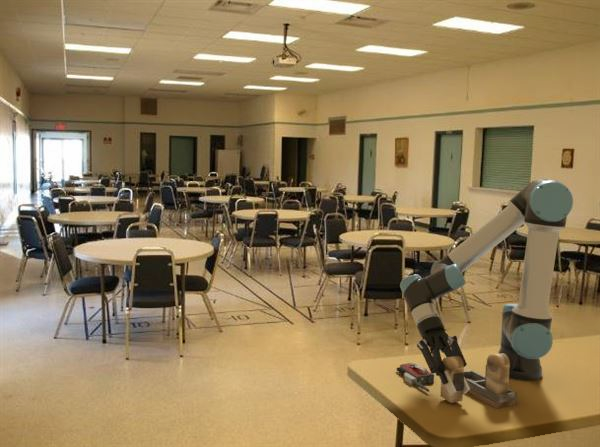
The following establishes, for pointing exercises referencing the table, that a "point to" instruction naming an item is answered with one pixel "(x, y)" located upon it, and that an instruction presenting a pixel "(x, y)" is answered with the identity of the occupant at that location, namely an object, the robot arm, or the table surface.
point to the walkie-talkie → (416, 375)
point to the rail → (493, 382)
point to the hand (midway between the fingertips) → (460, 392)
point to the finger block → (453, 378)
